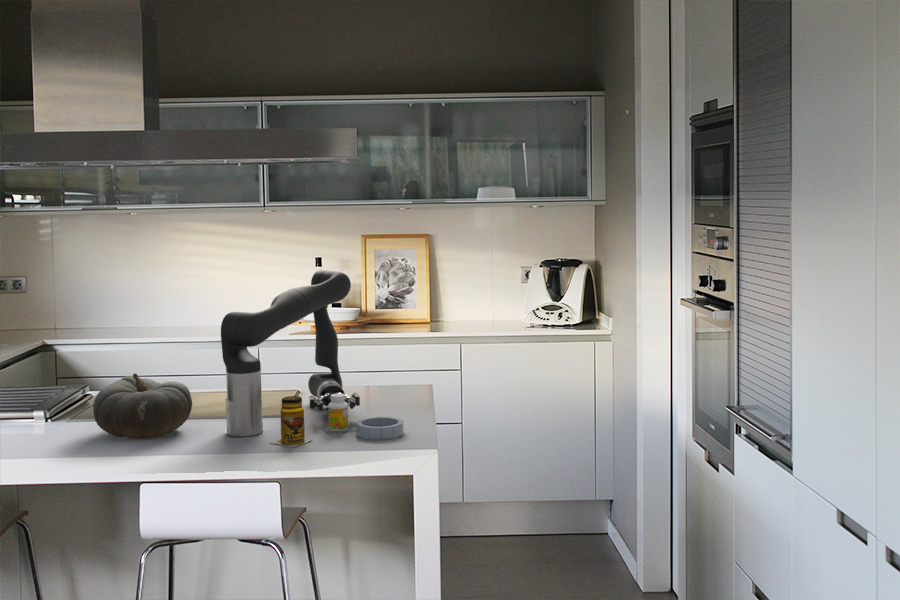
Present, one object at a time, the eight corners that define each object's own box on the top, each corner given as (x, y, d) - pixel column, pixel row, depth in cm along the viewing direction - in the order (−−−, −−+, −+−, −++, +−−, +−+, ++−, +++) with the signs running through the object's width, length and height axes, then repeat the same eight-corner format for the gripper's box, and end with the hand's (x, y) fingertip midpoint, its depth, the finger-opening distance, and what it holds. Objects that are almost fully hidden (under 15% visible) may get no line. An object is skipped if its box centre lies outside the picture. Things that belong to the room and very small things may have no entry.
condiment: (294, 447, 220) (293, 401, 219) (269, 443, 224) (267, 398, 223) (312, 440, 227) (311, 396, 225) (287, 437, 231) (285, 393, 229)
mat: (328, 435, 233) (328, 433, 233) (321, 429, 239) (321, 428, 239) (356, 432, 236) (356, 430, 236) (348, 426, 243) (348, 425, 243)
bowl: (365, 441, 225) (365, 429, 225) (351, 430, 236) (351, 419, 236) (409, 436, 230) (409, 424, 230) (393, 426, 241) (393, 414, 241)
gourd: (115, 412, 250) (120, 356, 246) (200, 426, 250) (206, 369, 246) (77, 444, 225) (81, 381, 222) (171, 459, 225) (177, 396, 222)
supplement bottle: (324, 430, 237) (323, 395, 236) (336, 426, 241) (335, 392, 240) (341, 432, 234) (340, 397, 233) (352, 428, 239) (351, 393, 238)
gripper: (306, 383, 254) (310, 394, 238) (354, 380, 257) (362, 391, 241) (307, 408, 254) (311, 421, 239) (355, 405, 258) (362, 417, 242)
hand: (337, 406), depth 240 cm, fingers open, 8 cm apart
